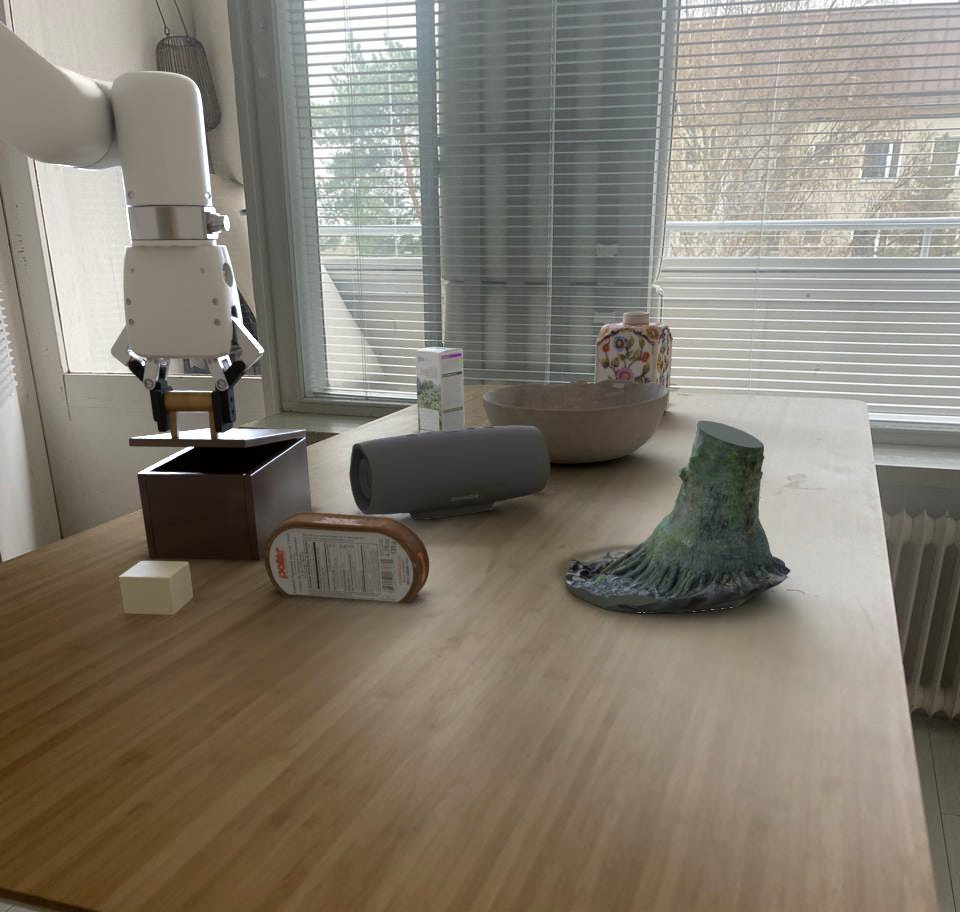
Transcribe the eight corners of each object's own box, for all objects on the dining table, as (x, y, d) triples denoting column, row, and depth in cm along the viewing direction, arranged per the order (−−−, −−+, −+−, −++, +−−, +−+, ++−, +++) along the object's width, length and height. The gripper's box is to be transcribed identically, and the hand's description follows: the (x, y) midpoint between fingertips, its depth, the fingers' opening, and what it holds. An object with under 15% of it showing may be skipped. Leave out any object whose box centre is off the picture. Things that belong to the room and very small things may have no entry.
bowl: (687, 446, 154) (691, 381, 150) (628, 483, 131) (632, 408, 127) (529, 433, 165) (529, 372, 162) (450, 465, 143) (448, 396, 139)
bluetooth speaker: (516, 493, 127) (517, 415, 123) (551, 509, 119) (553, 427, 115) (350, 515, 118) (344, 432, 114) (376, 534, 110) (371, 445, 106)
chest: (260, 571, 98) (250, 475, 95) (150, 568, 100) (136, 473, 96) (312, 519, 116) (306, 436, 113) (218, 517, 118) (209, 435, 114)
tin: (431, 606, 89) (429, 515, 85) (422, 618, 86) (418, 525, 82) (278, 594, 92) (269, 507, 88) (263, 606, 89) (254, 516, 86)
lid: (245, 447, 93) (242, 391, 91) (129, 446, 94) (124, 390, 93) (305, 436, 112) (304, 390, 111) (209, 435, 114) (206, 389, 112)
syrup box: (466, 438, 162) (464, 347, 156) (441, 443, 158) (439, 351, 152) (441, 434, 165) (439, 345, 160) (416, 439, 161) (413, 348, 156)
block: (126, 625, 85) (118, 576, 83) (147, 607, 89) (140, 560, 87) (175, 626, 84) (168, 577, 83) (195, 608, 89) (189, 561, 87)
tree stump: (601, 549, 105) (652, 386, 97) (779, 620, 99) (849, 451, 91) (532, 593, 90) (586, 403, 82) (737, 681, 83) (817, 483, 75)
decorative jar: (669, 410, 186) (676, 310, 179) (654, 420, 176) (660, 315, 169) (609, 406, 190) (613, 309, 183) (590, 416, 180) (594, 314, 173)
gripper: (276, 228, 91) (291, 424, 98) (103, 230, 93) (130, 422, 100) (249, 228, 84) (268, 438, 91) (63, 229, 86) (95, 436, 93)
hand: (196, 428), depth 96 cm, fingers closed on lid, 5 cm apart
